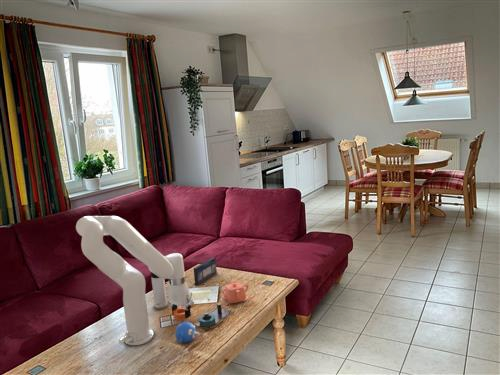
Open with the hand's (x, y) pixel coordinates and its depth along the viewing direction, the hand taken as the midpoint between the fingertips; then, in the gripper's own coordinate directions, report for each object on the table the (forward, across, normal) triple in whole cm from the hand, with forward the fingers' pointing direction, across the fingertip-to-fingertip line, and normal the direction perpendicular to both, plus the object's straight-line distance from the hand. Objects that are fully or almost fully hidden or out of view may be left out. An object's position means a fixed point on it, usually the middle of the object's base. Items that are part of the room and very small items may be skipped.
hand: (181, 315), depth 198 cm
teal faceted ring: (+2, +13, +2) cm, 13 cm away
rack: (+3, +13, +8) cm, 15 cm away
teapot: (+4, +12, +28) cm, 31 cm away
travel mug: (+3, -20, +8) cm, 22 cm away
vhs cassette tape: (+4, -20, +46) cm, 50 cm away
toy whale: (+3, +15, -12) cm, 20 cm away
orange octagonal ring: (0, 0, 0) cm, 0 cm away
